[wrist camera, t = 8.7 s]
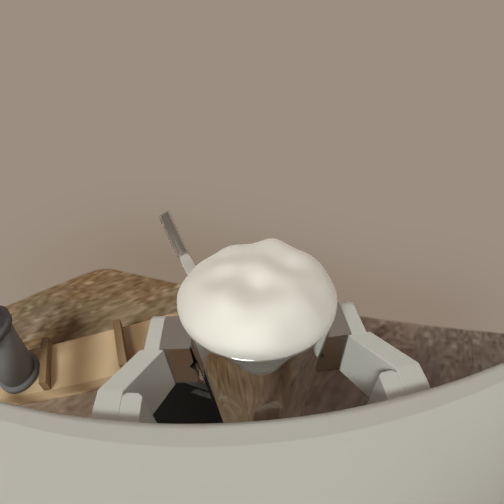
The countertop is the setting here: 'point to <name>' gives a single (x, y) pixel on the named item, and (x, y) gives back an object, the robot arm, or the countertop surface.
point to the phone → (187, 405)
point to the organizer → (81, 363)
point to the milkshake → (255, 324)
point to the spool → (15, 358)
